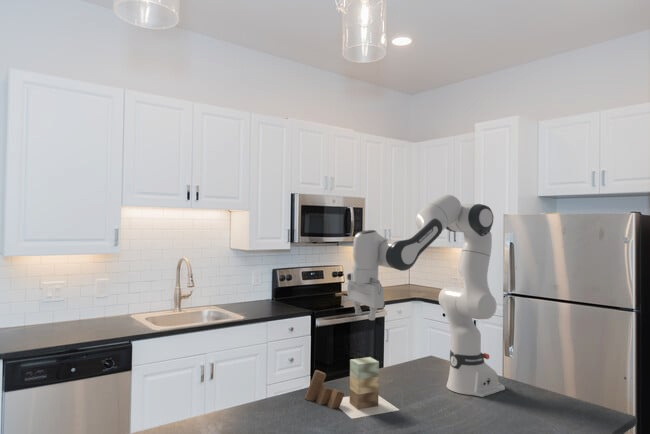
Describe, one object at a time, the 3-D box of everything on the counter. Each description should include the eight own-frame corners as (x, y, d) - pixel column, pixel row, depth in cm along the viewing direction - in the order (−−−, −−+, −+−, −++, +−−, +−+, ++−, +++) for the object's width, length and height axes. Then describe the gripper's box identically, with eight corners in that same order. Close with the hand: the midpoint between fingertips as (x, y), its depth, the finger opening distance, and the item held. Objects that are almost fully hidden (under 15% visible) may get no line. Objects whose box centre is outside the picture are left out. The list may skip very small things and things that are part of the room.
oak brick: (369, 385, 158) (370, 371, 158) (378, 391, 153) (378, 376, 153) (349, 388, 155) (349, 373, 155) (358, 394, 149) (358, 379, 149)
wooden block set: (340, 417, 152) (351, 387, 154) (320, 411, 148) (332, 381, 150) (315, 397, 167) (325, 370, 169) (296, 391, 163) (307, 364, 165)
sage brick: (370, 371, 158) (370, 357, 158) (378, 376, 153) (378, 361, 153) (350, 373, 155) (350, 359, 155) (357, 379, 149) (358, 364, 150)
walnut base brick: (369, 399, 158) (369, 385, 158) (378, 406, 152) (378, 391, 153) (349, 403, 155) (349, 388, 155) (357, 409, 149) (357, 394, 149)
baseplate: (374, 395, 165) (374, 392, 165) (399, 413, 149) (399, 410, 149) (329, 402, 158) (329, 399, 158) (351, 422, 142) (351, 418, 142)
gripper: (389, 280, 146) (388, 322, 146) (359, 273, 165) (359, 311, 165) (372, 280, 144) (371, 324, 143) (344, 274, 162) (343, 312, 162)
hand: (364, 317), depth 154 cm, fingers open, 8 cm apart
